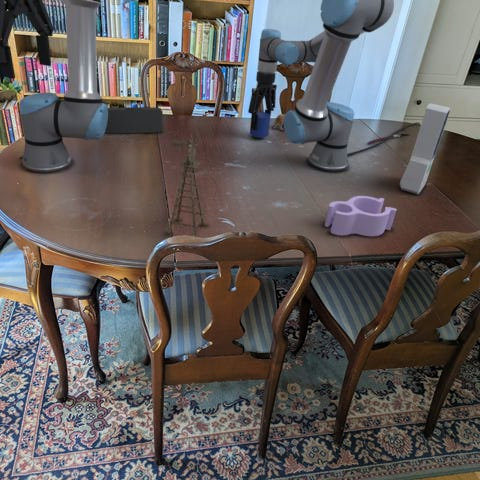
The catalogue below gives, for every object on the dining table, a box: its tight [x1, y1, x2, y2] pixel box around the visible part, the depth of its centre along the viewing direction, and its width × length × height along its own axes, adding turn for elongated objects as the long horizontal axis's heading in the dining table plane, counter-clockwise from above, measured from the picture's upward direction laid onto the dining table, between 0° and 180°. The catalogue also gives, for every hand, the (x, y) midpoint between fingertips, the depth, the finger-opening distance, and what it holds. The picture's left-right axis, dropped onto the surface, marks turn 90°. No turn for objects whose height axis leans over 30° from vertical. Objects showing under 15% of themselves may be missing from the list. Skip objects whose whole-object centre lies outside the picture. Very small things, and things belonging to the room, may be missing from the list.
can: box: [249, 111, 272, 139], centre depth 197 cm, size 8×8×8 cm
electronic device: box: [399, 102, 452, 195], centre depth 163 cm, size 12×8×30 cm, turn 148°
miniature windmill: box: [167, 128, 205, 238], centre depth 124 cm, size 9×8×30 cm
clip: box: [324, 195, 398, 237], centre depth 141 cm, size 20×12×7 cm, turn 109°
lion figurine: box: [271, 113, 285, 131], centre depth 210 cm, size 15×5×9 cm, turn 110°
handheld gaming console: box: [105, 106, 164, 134], centre depth 189 cm, size 23×3×10 cm, turn 108°
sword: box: [367, 132, 409, 145], centre depth 213 cm, size 31×3×1 cm, turn 126°
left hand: (28, 71), depth 107 cm, fingers open, 13 cm apart
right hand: (259, 127), depth 197 cm, fingers closed on can, 8 cm apart
